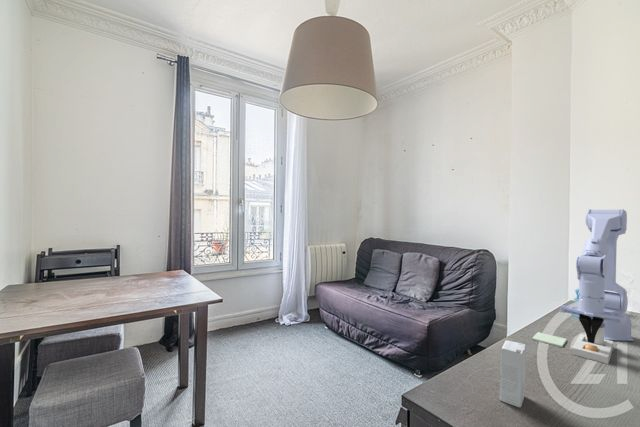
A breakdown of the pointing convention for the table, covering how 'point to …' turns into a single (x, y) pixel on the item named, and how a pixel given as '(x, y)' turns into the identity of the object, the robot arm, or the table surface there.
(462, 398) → the table surface
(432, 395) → the table surface
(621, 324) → the robot arm
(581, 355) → the housing
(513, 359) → the skincare box
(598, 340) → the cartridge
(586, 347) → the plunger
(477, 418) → the table surface
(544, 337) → the mat
